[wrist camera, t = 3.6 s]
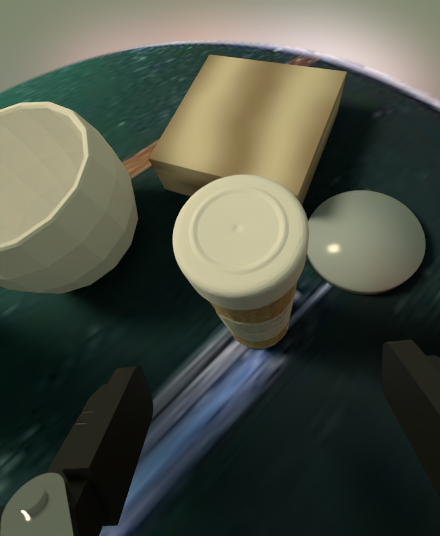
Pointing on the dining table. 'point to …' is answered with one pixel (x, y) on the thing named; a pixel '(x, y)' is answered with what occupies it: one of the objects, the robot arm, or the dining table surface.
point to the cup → (59, 201)
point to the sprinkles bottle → (244, 253)
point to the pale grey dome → (364, 242)
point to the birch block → (249, 125)
